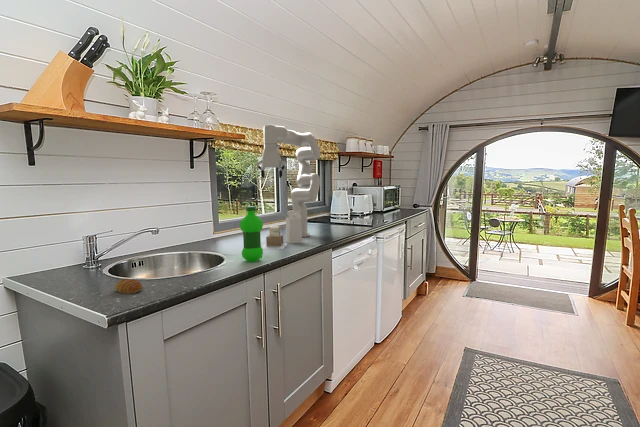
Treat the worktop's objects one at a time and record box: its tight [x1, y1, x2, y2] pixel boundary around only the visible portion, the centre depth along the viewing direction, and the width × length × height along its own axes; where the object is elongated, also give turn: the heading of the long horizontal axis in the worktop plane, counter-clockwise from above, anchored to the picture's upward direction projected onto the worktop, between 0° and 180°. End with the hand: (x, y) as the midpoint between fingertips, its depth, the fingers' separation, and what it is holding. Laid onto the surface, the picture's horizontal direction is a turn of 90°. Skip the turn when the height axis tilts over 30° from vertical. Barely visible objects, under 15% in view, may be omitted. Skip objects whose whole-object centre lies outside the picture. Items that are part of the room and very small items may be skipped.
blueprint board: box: [261, 242, 289, 250], centre depth 186 cm, size 16×13×1 cm
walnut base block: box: [265, 234, 284, 246], centre depth 190 cm, size 8×8×5 cm
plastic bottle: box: [239, 205, 264, 263], centre depth 156 cm, size 10×10×25 cm
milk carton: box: [285, 210, 303, 244], centre depth 197 cm, size 7×7×19 cm
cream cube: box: [268, 225, 281, 237], centre depth 189 cm, size 5×5×5 cm
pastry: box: [114, 278, 144, 295], centre depth 115 cm, size 9×7×4 cm
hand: (271, 177), depth 193 cm, fingers open, 9 cm apart
